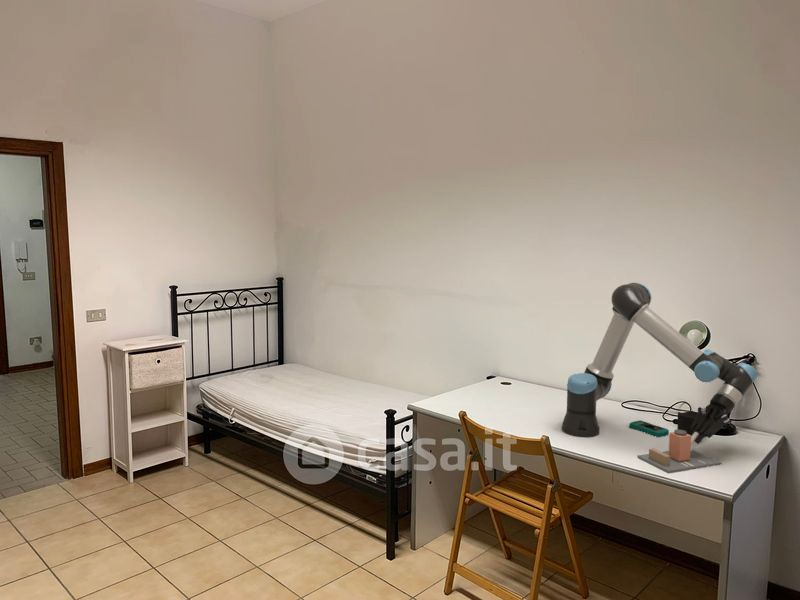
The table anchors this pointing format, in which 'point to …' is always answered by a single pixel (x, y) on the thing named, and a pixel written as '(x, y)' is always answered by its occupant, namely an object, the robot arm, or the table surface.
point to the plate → (672, 465)
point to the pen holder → (686, 421)
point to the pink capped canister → (679, 445)
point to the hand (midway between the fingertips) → (688, 448)
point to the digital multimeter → (649, 428)
